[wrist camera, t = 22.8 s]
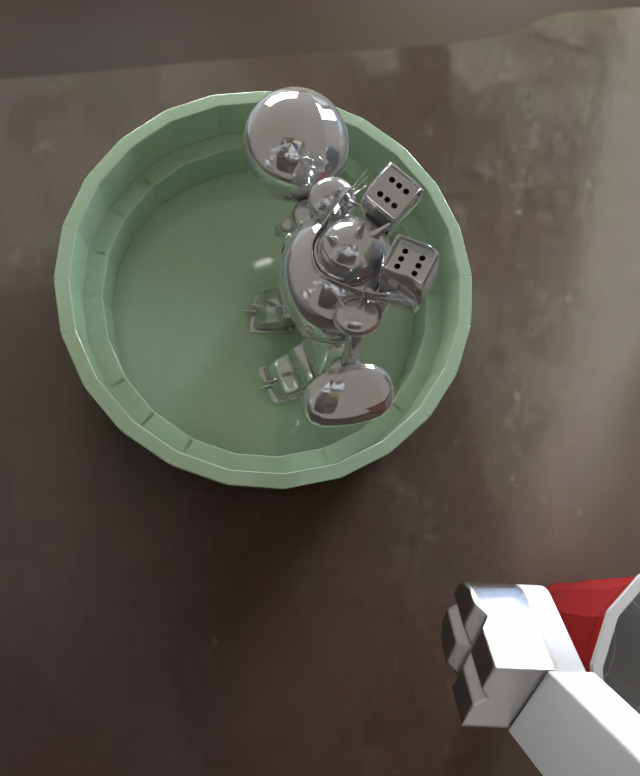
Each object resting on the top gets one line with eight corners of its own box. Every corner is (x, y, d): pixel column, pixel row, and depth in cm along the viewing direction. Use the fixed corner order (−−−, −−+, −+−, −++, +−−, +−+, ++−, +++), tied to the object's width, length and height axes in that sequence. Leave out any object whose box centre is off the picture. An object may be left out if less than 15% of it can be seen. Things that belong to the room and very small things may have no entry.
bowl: (58, 474, 30) (21, 470, 25) (111, 129, 34) (88, 62, 29) (430, 501, 33) (468, 502, 28) (440, 177, 37) (475, 123, 32)
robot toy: (221, 205, 34) (211, -15, 19) (323, 193, 35) (386, -24, 20) (268, 453, 32) (296, 416, 17) (375, 432, 33) (488, 380, 18)
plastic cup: (626, 523, 35) (825, 537, 23) (664, 718, 33) (902, 841, 21) (454, 547, 33) (575, 575, 21) (485, 753, 31) (636, 909, 19)
